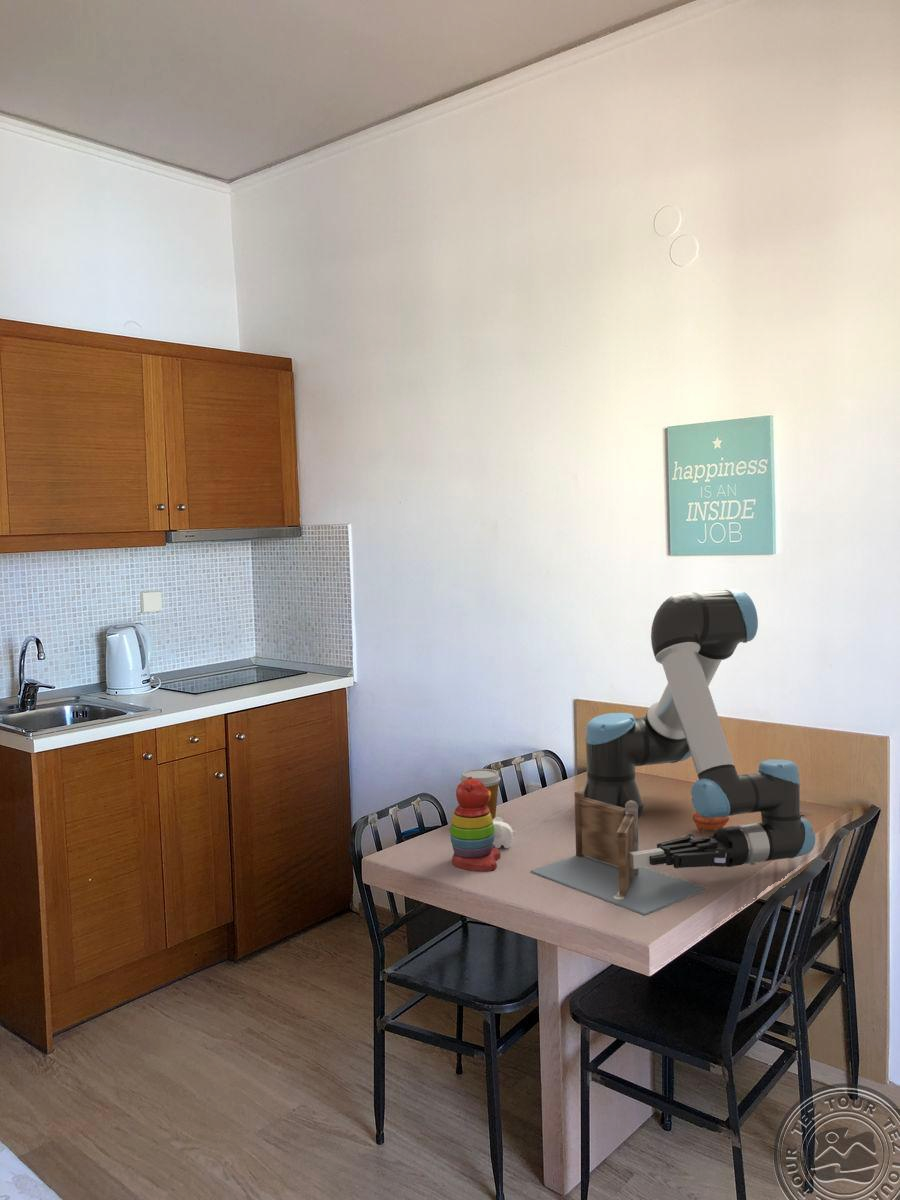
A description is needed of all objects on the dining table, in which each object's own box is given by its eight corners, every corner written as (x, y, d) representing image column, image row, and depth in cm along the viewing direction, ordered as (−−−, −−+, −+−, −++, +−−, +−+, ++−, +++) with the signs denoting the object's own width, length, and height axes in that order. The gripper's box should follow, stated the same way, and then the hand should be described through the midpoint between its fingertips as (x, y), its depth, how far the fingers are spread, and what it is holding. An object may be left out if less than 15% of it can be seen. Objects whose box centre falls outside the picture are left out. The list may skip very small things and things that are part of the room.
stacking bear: (495, 872, 201) (493, 786, 200) (446, 870, 203) (444, 785, 202) (501, 854, 212) (499, 773, 211) (455, 852, 214) (453, 772, 212)
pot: (738, 830, 222) (734, 803, 220) (714, 845, 218) (710, 818, 216) (711, 821, 228) (707, 794, 227) (688, 835, 225) (683, 808, 223)
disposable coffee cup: (470, 815, 240) (468, 767, 239) (507, 818, 237) (505, 769, 236) (455, 827, 232) (454, 777, 231) (493, 830, 228) (492, 779, 227)
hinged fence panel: (627, 872, 196) (625, 814, 195) (636, 873, 196) (635, 814, 195) (617, 894, 185) (616, 832, 184) (627, 895, 185) (626, 833, 184)
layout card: (530, 871, 201) (530, 870, 201) (591, 851, 212) (591, 849, 212) (644, 915, 177) (644, 913, 177) (706, 889, 188) (706, 887, 188)
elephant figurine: (482, 841, 221) (481, 815, 220) (517, 841, 220) (517, 815, 220) (481, 852, 214) (480, 825, 213) (518, 851, 213) (517, 824, 213)
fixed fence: (572, 856, 209) (571, 787, 208) (581, 853, 210) (580, 784, 209) (633, 877, 196) (632, 803, 195) (642, 874, 197) (640, 800, 196)
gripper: (759, 875, 188) (648, 892, 181) (721, 853, 201) (616, 868, 194) (759, 836, 187) (647, 852, 181) (721, 817, 200) (615, 831, 193)
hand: (631, 860), depth 187 cm, fingers closed
